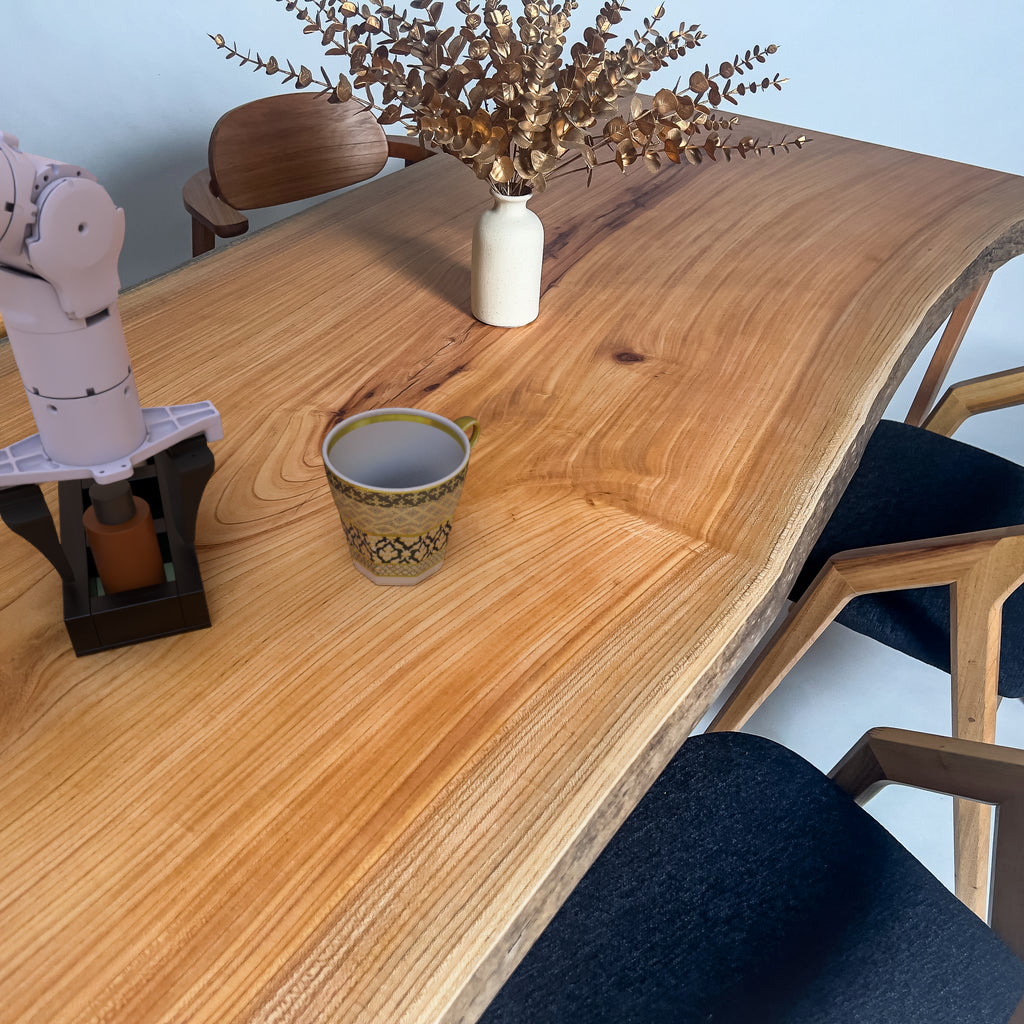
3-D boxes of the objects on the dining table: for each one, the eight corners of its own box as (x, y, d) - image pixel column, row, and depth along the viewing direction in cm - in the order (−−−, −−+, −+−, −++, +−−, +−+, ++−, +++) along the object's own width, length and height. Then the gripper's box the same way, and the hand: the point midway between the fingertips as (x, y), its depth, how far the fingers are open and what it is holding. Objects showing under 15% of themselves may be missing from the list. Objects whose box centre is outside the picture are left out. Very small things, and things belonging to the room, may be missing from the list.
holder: (76, 658, 58) (63, 620, 56) (66, 466, 74) (55, 431, 71) (212, 627, 61) (204, 590, 59) (174, 448, 76) (167, 414, 74)
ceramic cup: (393, 625, 62) (389, 511, 56) (303, 555, 67) (290, 443, 61) (521, 541, 70) (530, 432, 63) (431, 483, 75) (432, 377, 68)
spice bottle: (111, 620, 60) (78, 514, 54) (103, 582, 63) (71, 477, 57) (173, 604, 61) (148, 499, 56) (163, 567, 64) (138, 464, 58)
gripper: (-54, 443, 45) (22, 633, 54) (228, 373, 52) (256, 551, 61) (-76, 380, 50) (-3, 564, 58) (187, 323, 57) (218, 495, 65)
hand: (127, 553), depth 60 cm, fingers open, 7 cm apart
